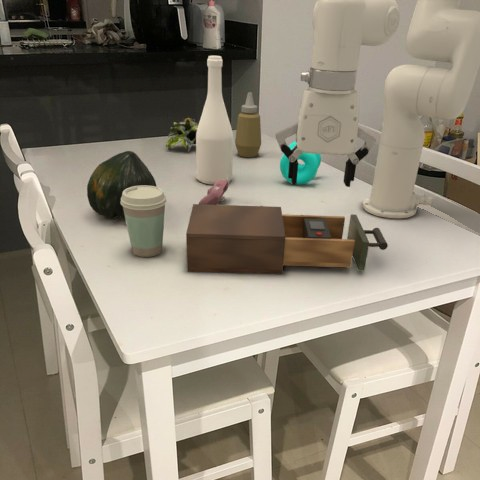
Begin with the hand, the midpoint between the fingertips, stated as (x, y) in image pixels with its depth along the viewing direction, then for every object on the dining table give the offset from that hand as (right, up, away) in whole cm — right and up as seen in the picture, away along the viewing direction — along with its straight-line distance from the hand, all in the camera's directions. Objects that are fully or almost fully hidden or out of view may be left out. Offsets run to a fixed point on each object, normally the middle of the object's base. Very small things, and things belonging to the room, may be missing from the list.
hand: (320, 183), depth 96 cm
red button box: (0, -11, +7) cm, 13 cm away
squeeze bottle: (-12, +26, +68) cm, 74 cm away
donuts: (+2, +13, +49) cm, 50 cm away
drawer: (+3, -12, +8) cm, 14 cm away
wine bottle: (-21, +13, +47) cm, 53 cm away
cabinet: (-15, -12, +8) cm, 21 cm away
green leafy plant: (-31, +29, +71) cm, 83 cm away
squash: (-41, -1, +25) cm, 48 cm away
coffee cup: (-33, -11, +9) cm, 36 cm away
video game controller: (-21, +3, +32) cm, 38 cm away
